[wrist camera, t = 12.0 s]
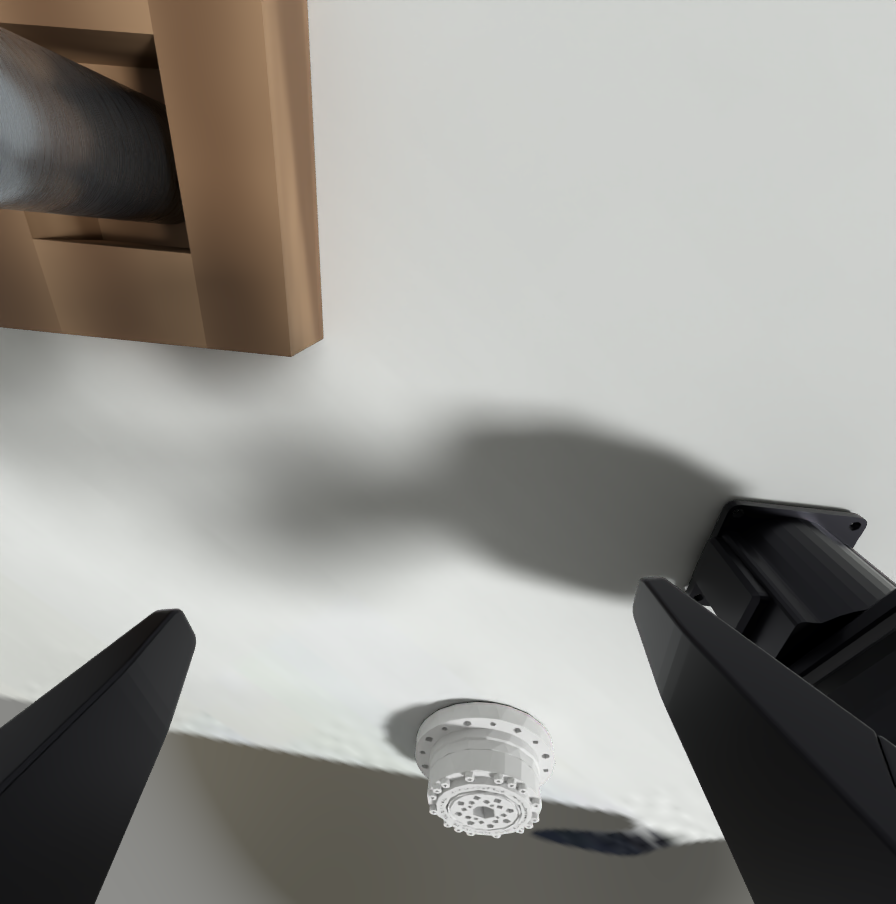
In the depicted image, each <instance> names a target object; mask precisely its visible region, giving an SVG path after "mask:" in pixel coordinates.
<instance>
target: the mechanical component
mask: <svg viewBox="0 0 896 904" xmlns="http://www.w3.org/2000/svg"><path fill="white" fill-rule="evenodd" d="M415 759H416V762H417V765H418V767H419V769H420V770H421V771H422V773H423V774H424V775H425V776H426V777H427V778H428V779H429V784H428V793H427V796H428V803H429V805H430V813H431V814H434V815H436V814H437V815H438V816H439V817H440V818H442V819H443V820H444V826H445V827H452V826H453V827H454V830H455V831H456V832H462V831H465V832H466V834H467V835H469V836H473V835H475V834H479V835H492V836H493V837H494V838H499V837H500V836H501V834H507V833H512V832H515V831H516V832H517V833H524V826H525V828H527V829H530V828H532V827H533V822H534V823H536V822H538V821H539V813H540V810H541V807H542V802H541V790H540V787H541V786H542V785H544V784H545V783H546V782H547V781H548V779H549V778H550V777H551V776H552V774H553V770H554V766H555V757H554V749H553V743H552V740H551V737H550V734H549V733H548V731H547V730H546V729H545V727H544V726H543V725H542V724H541V723H539V722H538V721H537V720H535V719H534V718H533V717H532V716H530V715H529V714H527V713H524V712H522V711H519V710H517V709H514V708H512V707H509V706H505V705H501V704H496V703H484V702H471V703H463V704H455V705H452V706H449V707H446V708H443V709H440V710H438V711H436V712H435V713H434V714H432V715H431V716H429V717H428V718H427V719H425V721H424V722H423V723H422V725H421V726H420V728H419V731H418V734H417V740H416V749H415Z"/></svg>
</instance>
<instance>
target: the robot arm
mask: <svg viewBox="0 0 896 904" xmlns="http://www.w3.org/2000/svg"><path fill="white" fill-rule="evenodd" d="M737 509H739V510H738V511H737V512H736V513H733V512H734V511H735V510H737ZM852 523H853V524H852ZM866 526H867V521H866V520H865V519H864V518H862V517H861V516H859V515H858V514H856V513H850V512H840V511H831V510H822V509H813V508H804V507H795V506H786V505H777V504H767V503H758V502H749V501H740V500H733V501H731V502H728V503H727V504H726V505H725V506H724V508H723V510H722V512H721V514H720V517H719V519H718V521H717V523H716V526H715V528H714V530H713V532H712V535H711V537H710V539H709V540H708V541H707V544H706V546H705V548H704V550H703V553H702V555H701V557H700V559H699V562H698V564H697V566H696V568H695V571H694V573H693V575H692V579H691V582H690V584H689V586H688V588H687V591H686V593H684V592H683V591H682V590H680V589H679V588H677V587H676V586H675V585H673V584H672V583H671V582H669V581H668V580H666V579H665V578H663V577H645V578H641V579H640V580H639V582H638V586H637V590H636V594H635V599H634V603H633V616H634V620H635V623H636V626H637V629H638V631H639V634H640V637H641V640H642V643H643V646H644V649H645V652H646V655H647V658H648V661H649V664H650V667H651V670H652V673H653V676H654V679H655V682H656V685H657V687H658V690H659V693H660V696H661V698H662V700H663V703H664V705H665V708H666V710H667V712H668V714H669V717H670V719H671V721H672V723H673V725H674V728H675V730H676V732H677V734H678V736H679V739H680V741H681V743H682V745H683V747H684V750H685V752H686V754H687V756H688V758H689V761H690V763H691V765H692V767H693V769H694V772H695V774H696V776H697V778H698V780H699V783H700V785H701V787H702V789H703V791H704V794H705V796H706V798H707V800H708V802H709V805H710V807H711V809H712V811H713V814H714V816H715V818H716V820H717V822H718V825H719V827H720V829H721V831H722V833H723V836H724V838H725V840H726V842H727V844H728V846H729V849H730V851H731V853H732V855H733V857H734V860H735V862H736V864H737V866H738V869H739V871H740V873H741V875H742V877H743V879H744V882H745V884H746V886H747V888H748V891H749V893H750V895H751V897H752V899H753V902H754V904H896V584H895V583H894V582H893V581H892V580H890V579H889V578H888V577H887V576H886V575H884V574H883V573H882V572H881V571H879V570H878V569H877V568H876V567H875V566H873V565H872V564H871V563H870V562H868V561H867V560H866V559H865V558H864V557H862V556H861V555H860V554H859V553H857V552H856V551H855V550H854V549H853V547H854V545H855V544H856V542H857V540H858V539H859V537H860V536H861V534H862V533H863V531H864V529H865V528H866ZM697 594H699V595H697ZM695 595H697V596H695ZM702 605H704V606H711V607H712V609H713V611H714V612H715V614H716V615H717V616H716V615H715V614H713V613H712V612H710V611H709V610H708V609H706V608H705V607H704V606H702ZM195 646H196V637H195V634H194V632H193V630H192V628H191V626H190V624H189V622H188V620H187V618H186V616H185V615H184V613H183V611H181V610H180V609H162V610H157V611H155V612H153V613H152V614H150V615H149V616H148V617H147V618H145V619H144V620H143V621H141V622H140V623H139V624H137V625H136V626H135V627H133V628H132V629H131V630H129V631H128V632H127V633H125V634H124V635H123V636H121V637H120V638H119V639H117V640H116V641H115V642H113V643H112V644H111V645H109V646H108V647H107V648H105V649H104V650H103V651H101V652H100V653H99V654H97V655H96V656H95V657H94V658H92V659H91V660H90V661H88V662H87V663H86V664H84V665H83V666H82V667H80V668H79V669H78V670H76V671H75V672H74V673H72V674H71V675H70V676H68V677H67V678H66V679H64V680H63V681H62V682H60V683H59V684H58V685H56V686H55V687H54V688H52V689H51V690H50V691H48V692H47V693H46V694H44V695H43V696H42V697H41V698H39V699H38V700H37V701H35V702H34V703H33V704H31V705H30V706H29V707H27V708H26V709H25V710H23V711H22V712H21V713H19V714H18V715H17V716H15V717H14V718H13V719H11V720H10V721H9V722H7V723H6V724H5V725H3V726H2V727H1V728H0V904H95V902H96V899H97V897H98V895H99V892H100V890H101V888H102V885H103V883H104V881H105V878H106V876H107V874H108V871H109V869H110V866H111V864H112V862H113V860H114V857H115V855H116V852H117V850H118V848H119V845H120V843H121V841H122V838H123V836H124V834H125V831H126V829H127V827H128V824H129V822H130V820H131V817H132V815H133V813H134V810H135V808H136V805H137V803H138V801H139V798H140V796H141V794H142V791H143V789H144V787H145V785H146V782H147V780H148V777H149V775H150V773H151V770H152V768H153V766H154V763H155V761H156V759H157V756H158V754H159V752H160V749H161V747H162V745H163V742H164V740H165V737H166V735H167V732H168V730H169V727H170V724H171V721H172V718H173V715H174V712H175V709H176V706H177V703H178V700H179V697H180V694H181V691H182V687H183V684H184V681H185V678H186V675H187V672H188V669H189V666H190V662H191V659H192V656H193V653H194V650H195Z"/></svg>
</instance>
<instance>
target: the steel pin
mask: <svg viewBox="0 0 896 904" xmlns="http://www.w3.org/2000/svg"><path fill="white" fill-rule="evenodd" d="M0 209H8V210H19V211H29V212H40V213H50V214H61V215H71V216H82V217H92V218H103V219H113V220H124V221H134V222H145V223H156V224H167V225H172V224H178V223H182V222H184V221H185V217H184V211H183V205H182V199H181V193H180V187H179V181H178V176H177V170H176V164H175V158H174V152H173V146H172V140H171V135H170V129H169V123H168V117H167V111H166V105H164V104H163V103H161V102H159V101H157V100H154V99H152V98H150V97H148V96H146V95H144V94H142V93H140V92H138V91H135V90H133V89H131V88H129V87H127V86H125V85H123V84H121V83H118V82H116V81H114V80H112V79H110V78H108V77H106V76H104V75H102V74H99V73H97V72H95V71H93V70H91V69H89V68H87V67H85V66H82V65H80V64H78V63H76V62H74V61H72V60H70V59H68V58H66V57H63V56H61V55H59V54H57V53H55V52H53V51H51V50H49V49H46V48H44V47H42V46H40V45H38V44H36V43H34V42H32V41H30V40H27V39H25V38H23V37H21V36H19V35H17V34H15V33H13V32H10V31H8V30H6V29H4V28H2V27H0Z"/></svg>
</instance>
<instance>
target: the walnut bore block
mask: <svg viewBox="0 0 896 904" xmlns="http://www.w3.org/2000/svg"><path fill="white" fill-rule="evenodd" d="M0 27H2V28H4V29H6V30H8V31H10V32H13V33H15V34H17V35H19V36H21V37H23V38H25V39H27V40H30V41H32V42H34V43H36V44H38V45H40V46H42V47H44V48H46V49H49V50H51V51H53V52H55V53H57V54H59V55H61V56H63V57H66V58H68V59H70V60H72V61H74V62H76V63H78V64H80V65H82V66H85V67H87V68H89V69H91V70H93V71H95V72H97V73H99V74H102V75H104V76H106V77H108V78H110V79H112V80H114V81H116V82H118V83H121V84H123V85H125V86H127V87H129V88H131V89H133V90H135V91H138V92H140V93H142V94H144V95H146V96H148V97H150V98H152V99H154V100H157V101H159V102H161V103H163V104H164V105H166V111H167V117H168V123H169V129H170V135H171V140H172V146H173V152H174V158H175V164H176V170H177V176H178V181H179V187H180V193H181V199H182V205H183V211H184V217H185V221H184V222H182V223H178V224H172V225H167V224H156V223H145V222H134V221H124V220H113V219H103V218H92V217H82V216H71V215H61V214H50V213H40V212H29V211H19V210H8V209H0V327H3V328H13V329H23V330H33V331H43V332H52V333H62V334H72V335H82V336H91V337H101V338H111V339H121V340H131V341H140V342H150V343H160V344H170V345H180V346H189V347H199V348H209V349H219V350H229V351H238V352H248V353H258V354H268V355H278V356H287V357H292V356H294V355H295V354H297V353H299V352H301V351H302V350H304V349H306V348H308V347H309V346H311V345H313V344H315V343H316V342H318V341H320V340H322V339H323V320H322V299H321V278H320V257H319V237H318V216H317V195H316V174H315V154H314V133H313V112H312V92H311V71H310V50H309V29H308V9H307V0H0Z"/></svg>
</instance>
